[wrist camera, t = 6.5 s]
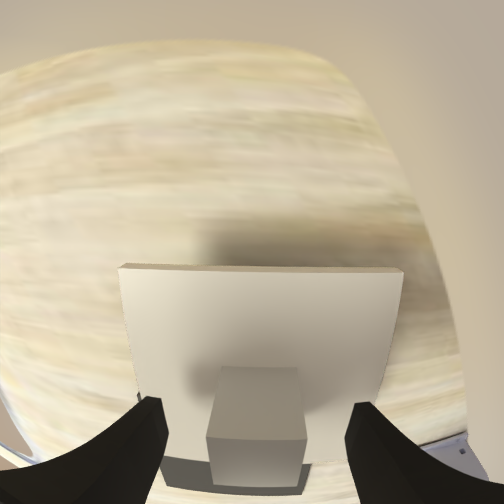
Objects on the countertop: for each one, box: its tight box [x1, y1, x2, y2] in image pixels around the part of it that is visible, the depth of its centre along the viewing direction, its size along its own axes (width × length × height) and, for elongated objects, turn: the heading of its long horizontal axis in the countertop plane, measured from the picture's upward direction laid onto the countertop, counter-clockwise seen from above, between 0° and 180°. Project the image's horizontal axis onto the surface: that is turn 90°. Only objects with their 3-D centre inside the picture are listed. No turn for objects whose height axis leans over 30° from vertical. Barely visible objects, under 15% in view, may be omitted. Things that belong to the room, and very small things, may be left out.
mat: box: [137, 392, 310, 496], centre depth 19 cm, size 13×13×1 cm
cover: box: [118, 263, 404, 487], centre depth 10 cm, size 11×11×5 cm
